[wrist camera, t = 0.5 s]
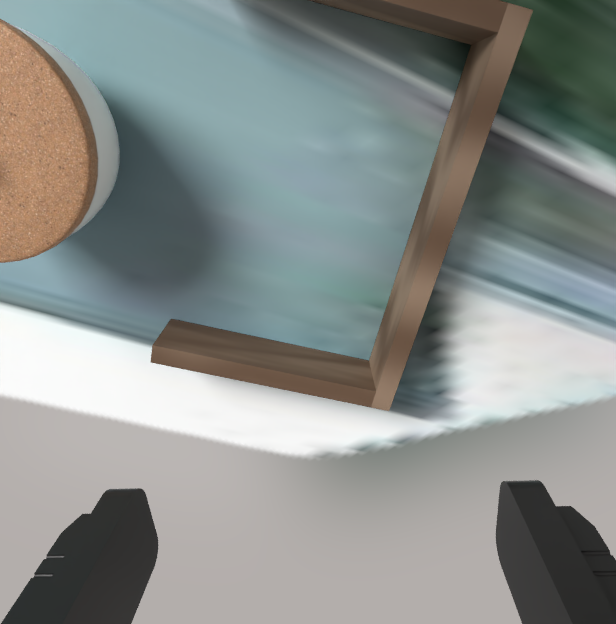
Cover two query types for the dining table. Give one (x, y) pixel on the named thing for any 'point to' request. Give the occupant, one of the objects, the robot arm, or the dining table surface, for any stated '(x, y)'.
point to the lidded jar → (49, 146)
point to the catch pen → (424, 234)
